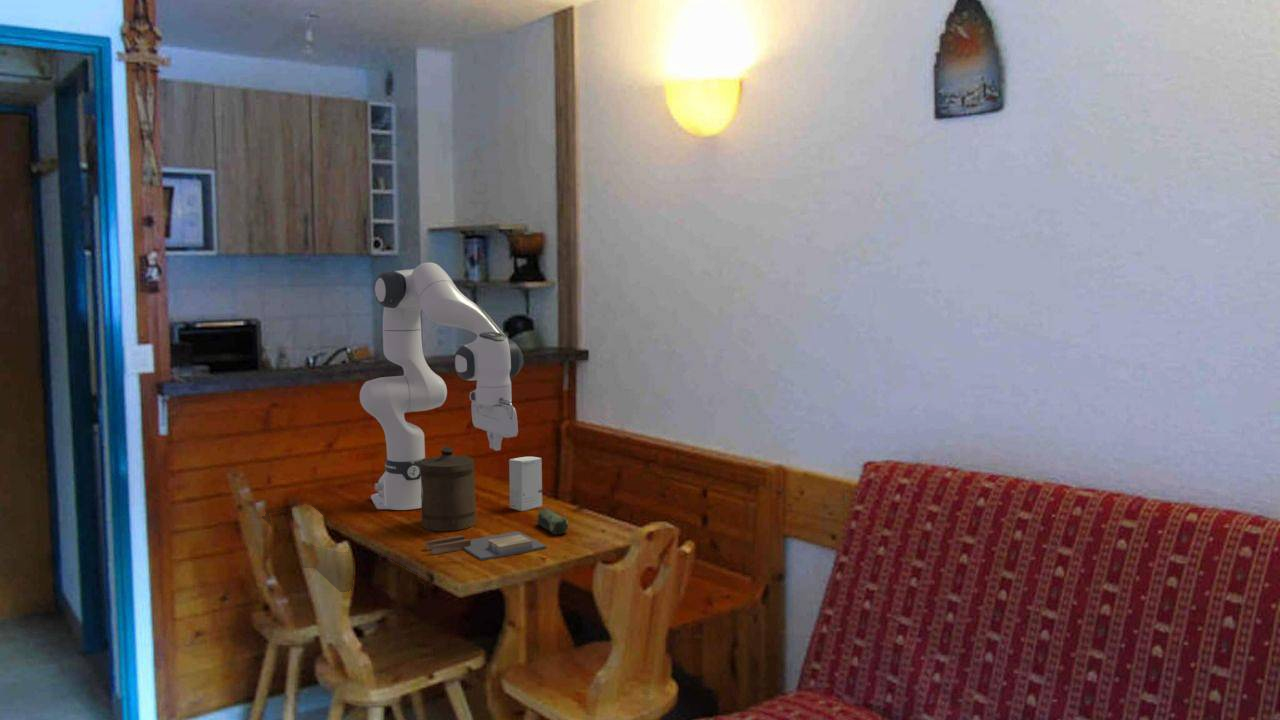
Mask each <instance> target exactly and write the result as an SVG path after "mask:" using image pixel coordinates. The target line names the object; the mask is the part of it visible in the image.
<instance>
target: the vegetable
mask: <svg viewBox="0 0 1280 720" xmlns="http://www.w3.org/2000/svg"><path fill="white" fill-rule="evenodd" d="M537 523H538V524H539V526H540V527H541V528H544V529H545V530H547V531H548V532H550V533H551V534H553V535H555V536H557V535H562V534H564V533H566V531H568V528H569V522H568V519H567V518H566V517H565V516H562V515H560V514H558V513H556V512H555V511H553V510H551V509H550V508H543V509H541V510H540V511H539V512H538V515H537Z"/></svg>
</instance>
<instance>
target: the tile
mask: <svg viewBox="0 0 1280 720" xmlns="http://www.w3.org/2000/svg"><path fill="white" fill-rule="evenodd" d="M488 548H490V549H491V550H493V551H495V552H496V553H498V554H500V555H501V554H506V553H512V552H517V551H522V550H527V549H532V540H530V539H528V538H526V537H524V536H522V535H520V534H519V535H513V536H508V537H502V538H497V539H491V540H488Z"/></svg>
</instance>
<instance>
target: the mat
mask: <svg viewBox="0 0 1280 720" xmlns="http://www.w3.org/2000/svg"><path fill="white" fill-rule="evenodd" d="M519 534H520V535H522V536H524V537H526V538H528V539H530V540H532V549H527V550H522V551H517V552H512V553H506V554H501V555H500V554H498V553H496V552H495V551H493V550H491V549H490V548H488V540H491V539H497V538H502V537H508V536H513V535H519ZM469 540H470V541H471V546H466V547H463V549H462V550H464V551H466V553H469V554H470V553H471V554H470V555H472V554H473V555H472V556H473V557H475V556H476V557H475V558H477V557H478V558H479V560H480V559H481V560H480V561H484V560H483V559H487V560H491V559H490V558H493V559H497V558H496V557H498V558H502V557H508V556H514V555H517V554H522V553H523V554H524V553H527V552H533V551H538V550H543V549H547V545H545V544H543V543H542V542H540V541H538V540H536V539H535V538H532V537H531V536H529V535H526V534H524V533H522V532H521V531H518V530H517V531H516V530H515V531H512V532H506V533H500V534H496V535H494V534H493V535H489V536H483V537H478V538H473V539H469ZM478 558H477V559H478Z"/></svg>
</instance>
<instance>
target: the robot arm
mask: <svg viewBox="0 0 1280 720" xmlns="http://www.w3.org/2000/svg"><path fill="white" fill-rule="evenodd" d="M374 295H375V299H376V301H377V302H378V303H379V305H380V306H382V307H383V312H382V343H383V344H382V345H383V349H382V351H383V356H384V357H385V358H386V359H387V360H388V361H389V362H390V363H393V364H396V365H397V366H399V367H401V368H402V370H403V375H395V376H393V375H392V376H384V377H382V376H381V377H377V378H374V379H373V378H372V379H371V380H367V381H365V382H364V384H362V386H361V389H360V391H359V402H360V404H361V407H362V408H363V409H364V410H365V411H366V412H367V414H370V415H371V416H373V418H375V420H377V422H378V423H379V424H380V426H381V427H382V430H383V432H384V437H385V444H386V459H385V463H384V470H385V472H383V474H382V475H381V476H380V478H379V479H378V481H377V483H374V490H375V491H376V492H378V493H374V494H371V496H370V500H371V501H372V503H373V505H374V506H375V508H376V509H377V510H392V511H408V510H417V509H421V461H422V460H424V459H426V458H427V457H426V449H425V448H426V447H425V446H426V445H425V433H424V431H423V429H422V428H420V426H417V425H415V424H413V423H411V422H409V421H406V418H405V414H407V413H412V412H425V411H429V410H433V409H436V408H440V407H441V406H443V404H445V401H446V400H447V396H448V389H447V384H446V382H445V381H444V379H443V378H442V377H441V376H440V375H438V374H437V373H435V372H434V371H433V370H432V368H430V366H429V365H428V363H427V361H426V359H425V355H424V351H423V341H422V321H421V319H422V318H421V311H422V312H423V313H424V315H425V316H426V317H427V318H428V319H429V320H430V321H432V322H433V323H435V324H437V325H439V326H443V327H444V326H445V327H452V328H458V329H464V330H466V331H470V332H472V333H473V334H475V335H477V336H476V339H474V340H473V341H472V342H469V343H467V344H464V345H461V346H459V347H458V349H457V350H456V351H455V354H454V357H453V367H454V371H455V372H456V374H457V376H458V377H460V378H461V379H462V380H463V381H476V388H475V389H474V390H472V391H470V392H469V400H470V401H471V405H470V406H471V408H470V409H471V418H472V419H471V420H472V421H471V422H472V424H473V427H475V428H477V429H478V430H479V429H480V430H482V431H485V432H486V436H487V439H488V442H489V449H491V450H493V451H496V452H497V451H500V450H501V449H502V441H503V438H505V439H509V438H515V437H517V436H518V433H519V425H518V416H517V414H518V413H517V410H516V407H514V406H513V404H512V399H513V398H512V397H513V396H512V381H511V379H513V378H515V377H516V376H517V375H518V373H519V372H520V371H521V369H522V368H523V364H524V355H523V352H522V350H521V349H520V347H519V345H518V344H517V343H516V342H514V341H513V340H512V339H510V338H509V337H508V336H507V335H506V334H505V333H504V332H503V331H502V329H501V328H500V327H499V326H498V325H497V324H496V322H494V320H493V319H492V318H491V316H490V315H489V314H488V312H486V310H485V309H483V308H482V307H481V306H480V305H479V304H477V303H476V302H473V301H472V300H470V299H469V298H468V297H466V296H465V295H464V294H463V293H462V292H461V291H460V290H459V289H458V287H457V286H456V284H455V283H454V282H453V280H452V279H451V277H450V276H449V274H448V273H447V272H446V271H445V270H444V268H442V267H441V266H440V265H439V264H437V263H434V262H429V261H428V262H423V263H421V264H419V265H418V266H416V267H415V268H411V269H402V270H388V271H384V272H381V273H380V274H379V275H378V276H377V278H376V280H375V282H374Z"/></svg>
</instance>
